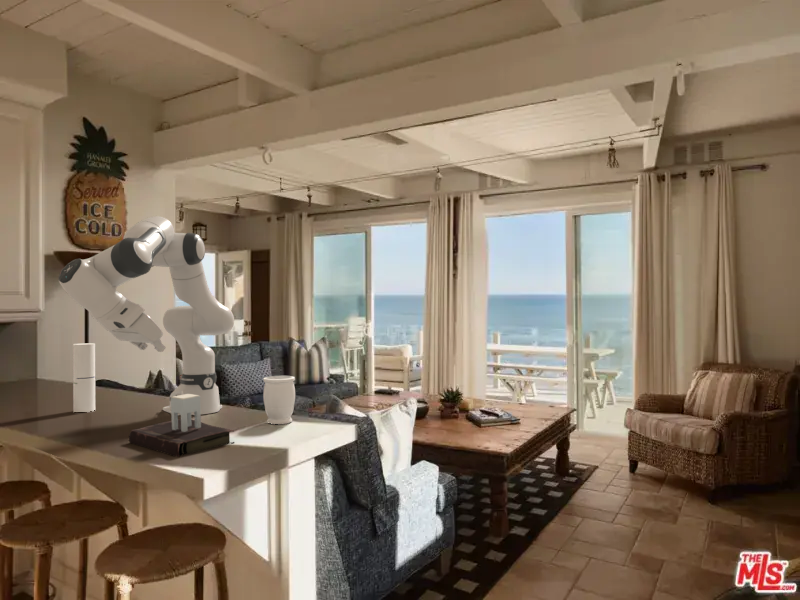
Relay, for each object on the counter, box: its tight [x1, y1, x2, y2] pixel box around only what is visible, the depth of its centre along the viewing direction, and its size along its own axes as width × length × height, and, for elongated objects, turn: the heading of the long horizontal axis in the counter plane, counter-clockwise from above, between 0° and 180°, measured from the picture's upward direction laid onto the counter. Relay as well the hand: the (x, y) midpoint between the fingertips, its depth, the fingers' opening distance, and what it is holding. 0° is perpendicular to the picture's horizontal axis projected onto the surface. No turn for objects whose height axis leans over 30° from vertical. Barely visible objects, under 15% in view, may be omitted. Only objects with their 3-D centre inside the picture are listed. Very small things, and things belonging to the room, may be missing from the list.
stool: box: [170, 394, 202, 432], centre depth 161 cm, size 6×6×9 cm
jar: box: [262, 375, 296, 425], centre depth 188 cm, size 11×10×15 cm
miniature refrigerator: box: [72, 342, 96, 413], centre depth 210 cm, size 7×7×25 cm
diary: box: [128, 418, 235, 458], centre depth 162 cm, size 19×25×5 cm
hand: (153, 349), depth 152 cm, fingers open, 8 cm apart
